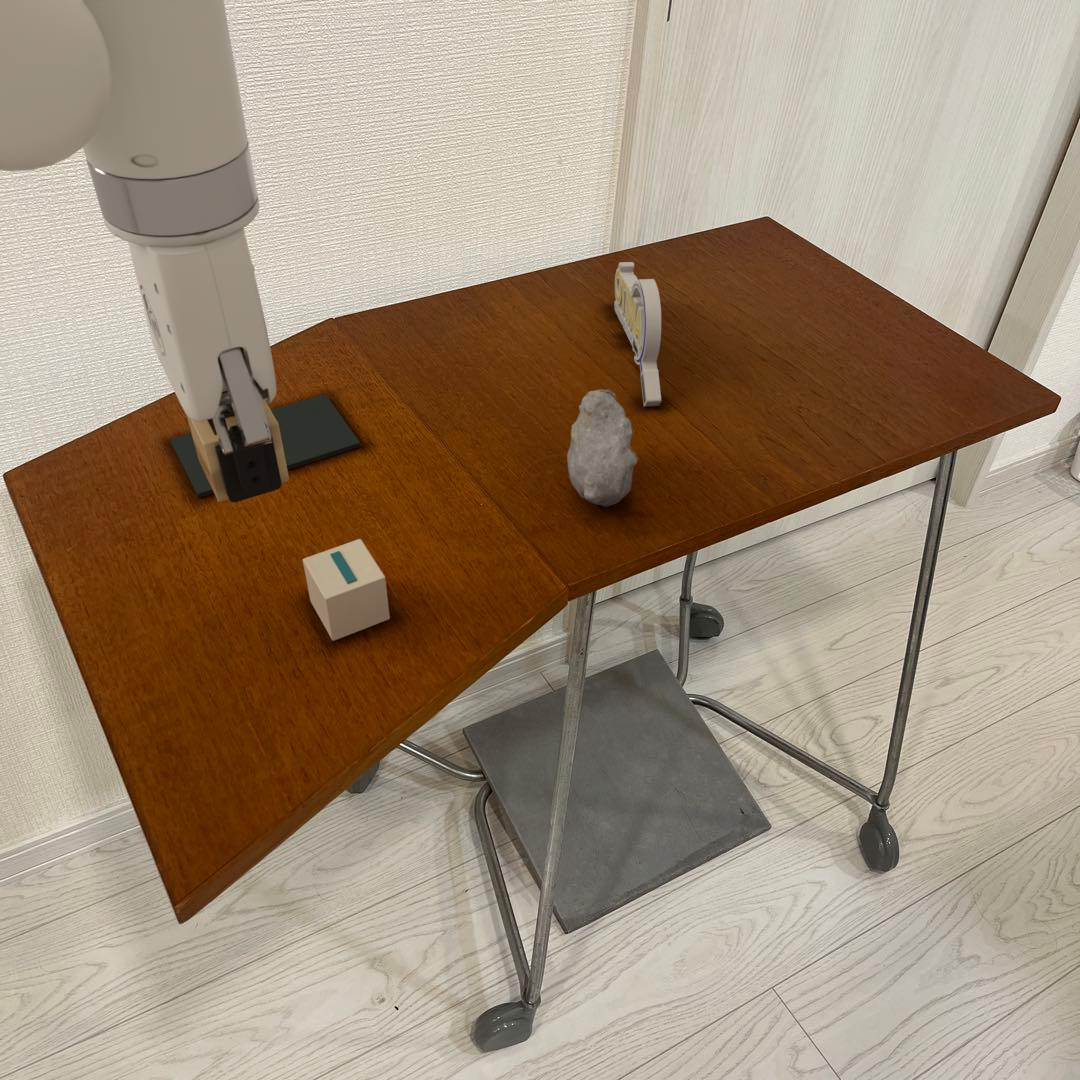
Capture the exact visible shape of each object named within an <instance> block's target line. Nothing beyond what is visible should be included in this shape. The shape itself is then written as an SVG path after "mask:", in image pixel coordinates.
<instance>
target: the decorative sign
mask: <svg viewBox="0 0 1080 1080" xmlns="http://www.w3.org/2000/svg"><path fill="white" fill-rule="evenodd" d="M634 270H635V263H634V261H624V262H623V261H622V262H619V263H618V266H617V268H616V270H615V276H614V297H615V300H614V302H613V303H614V307H613V308H614V312H615V314H616V316H617V318H618V320H619V322H620V324H621V326H622V329H623V330H624V332H625V334H626V336H627V338H628V340H629V343H630V345H631V348H632V352H634V354H635V355H634V357H633V360H634V362H635V364H636V365H639V370H640V371H639V372H640V383H641V385H640V386H641V394H642V395H641V396H642V402H643V407H659V406H660V405H661V403H662V393H661V384H660V376H659V369H658V364H657V363H658V362H657V360H658V358H659V353H660V349H661V341H662V340H661V339H662V305H661V298H660V291H659V288H658V284H657V282H656V280H655V278H647V279H646V278H641V279H638V277H637V275H636V274H635V272H634Z"/></svg>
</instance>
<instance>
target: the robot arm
mask: <svg viewBox="0 0 1080 1080" xmlns="http://www.w3.org/2000/svg"><path fill="white" fill-rule="evenodd" d="M228 23H229V22H228V18H227V12H226V6H225V0H0V171H5V172H21V171H23V172H24V171H33V170H38V169H43V168H46V167H51V166H54V165H56V164H57V163H58V164H59V163H60V162H63V161H64V160H67V159H70V158H71V157H72V156H73V155H74V154H76V153H77V152H79V150H81V149H82V150H83V152H84V155H85V160H86V164H87V167H88V170H89V171H88V172H89V174H90V177H91V181H92V184H93V188H94V192H95V195H96V199H97V202H98V205H99V209H100V212H101V215H102V219H103V222H104V225H105V227H106V229H107V230H108V231H109V232H110V233H111V234H112V235H114V236H115V237H118V238H119V239H120V240H123V241H124V242H127V244H128V248H129V253H130V256H131V262H132V265H133V270H134V273H135V277H136V281H137V286H138V289H139V293H140V297H141V301H142V305H143V309H144V314H145V318H146V322H147V328H148V332H149V335H150V339H151V342H152V346H153V348H154V350H155V353H156V355H157V358H158V360H159V362H160V364H161V366H162V369H163V371H164V373H165V375H166V377H167V379H168V381H169V383H170V385H171V387H172V389H173V392H174V393H175V396H176V397H177V400H178V402H179V404H180V405H181V407H182V409H183V412H184V413H185V414H187V415H186V417H187V416H188V417H189V418H191V419H192V420H194V421H196V422H199V423H201V422H204V420H207V419H211V418H212V419H213V422H214V426H215V429H216V433H217V436H218V440H219V443H220V445H219V446H216V447H215V449H216V453H217V457H218V461H219V465H220V469H221V473H222V477H223V481H224V485H225V489H226V493H227V496H228V498H229V499H228V500H229V501H230V502H231V503H239V502H242V501H245V500H248V499H252V498H255V497H257V496H261V495H265V494H269V493H271V492H273V491H277V490H279V489H280V488H282V482H281V477H280V472H279V467H278V462H277V457H276V452H275V447H274V442H273V437H272V435H271V433H270V429H269V425H268V421H267V417H266V413H265V409H264V405H263V401H266V403H267V404H271V403H272V402H273V401H274V400H275V398H276V396H277V380H276V373H275V372H276V371H275V365H274V359H273V354H272V349H271V343H270V338H269V333H268V328H267V325H266V320H265V314H264V310H263V305H262V300H261V296H260V291H259V287H258V283H257V278H256V274H255V266H254V264H253V261H252V257H251V252H250V248H249V244H248V240H247V236H246V232H245V227H247V226H249V225H250V224H251V222H253V221H254V220H255V219H256V217H257V215H258V214H259V211H260V199H259V193H258V188H257V183H256V179H255V172H254V166H253V160H252V154H251V149H250V144H249V139H248V132H247V128H246V127H247V126H246V120H245V115H244V109H243V104H242V99H241V93H240V87H239V81H238V76H237V69H236V64H235V63H236V62H235V59H234V58H235V57H234V53H233V45H232V40H231V35H230V29H229V24H228ZM226 392H228V395H227V396H223V397H221V395H222V393H226ZM262 399H263V401H262ZM231 412H234V414H235V417H236V420H237V425H235V426H231V427H230V429H229V431H228V428H227V424H226V420H225V417H224V414H228V413H231Z"/></svg>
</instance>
